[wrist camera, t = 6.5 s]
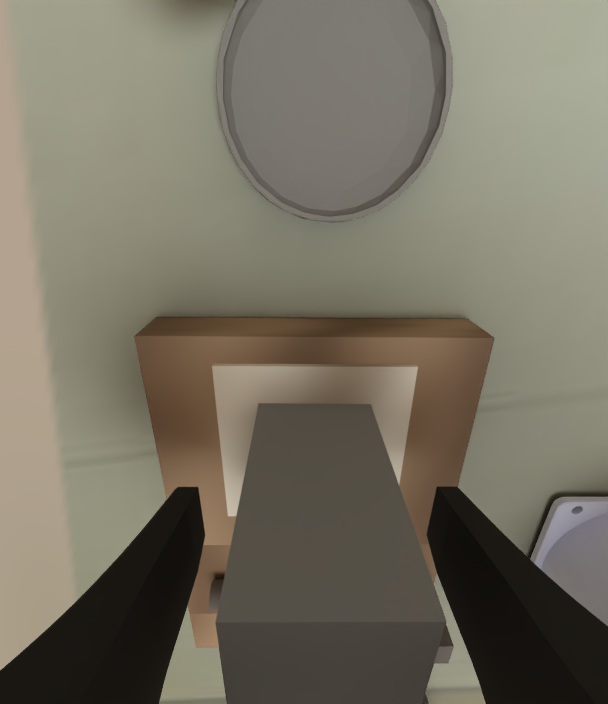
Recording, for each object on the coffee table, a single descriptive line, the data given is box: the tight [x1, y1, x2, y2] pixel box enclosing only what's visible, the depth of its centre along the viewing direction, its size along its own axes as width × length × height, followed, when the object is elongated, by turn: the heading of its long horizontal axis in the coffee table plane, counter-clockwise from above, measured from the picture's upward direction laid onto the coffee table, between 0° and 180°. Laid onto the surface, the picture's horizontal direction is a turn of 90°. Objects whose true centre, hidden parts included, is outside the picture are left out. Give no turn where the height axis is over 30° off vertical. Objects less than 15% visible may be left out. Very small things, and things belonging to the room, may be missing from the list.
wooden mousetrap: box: [134, 317, 494, 663], centre depth 15 cm, size 12×18×5 cm, turn 179°
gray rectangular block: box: [215, 403, 446, 704], centre depth 10 cm, size 4×4×7 cm
